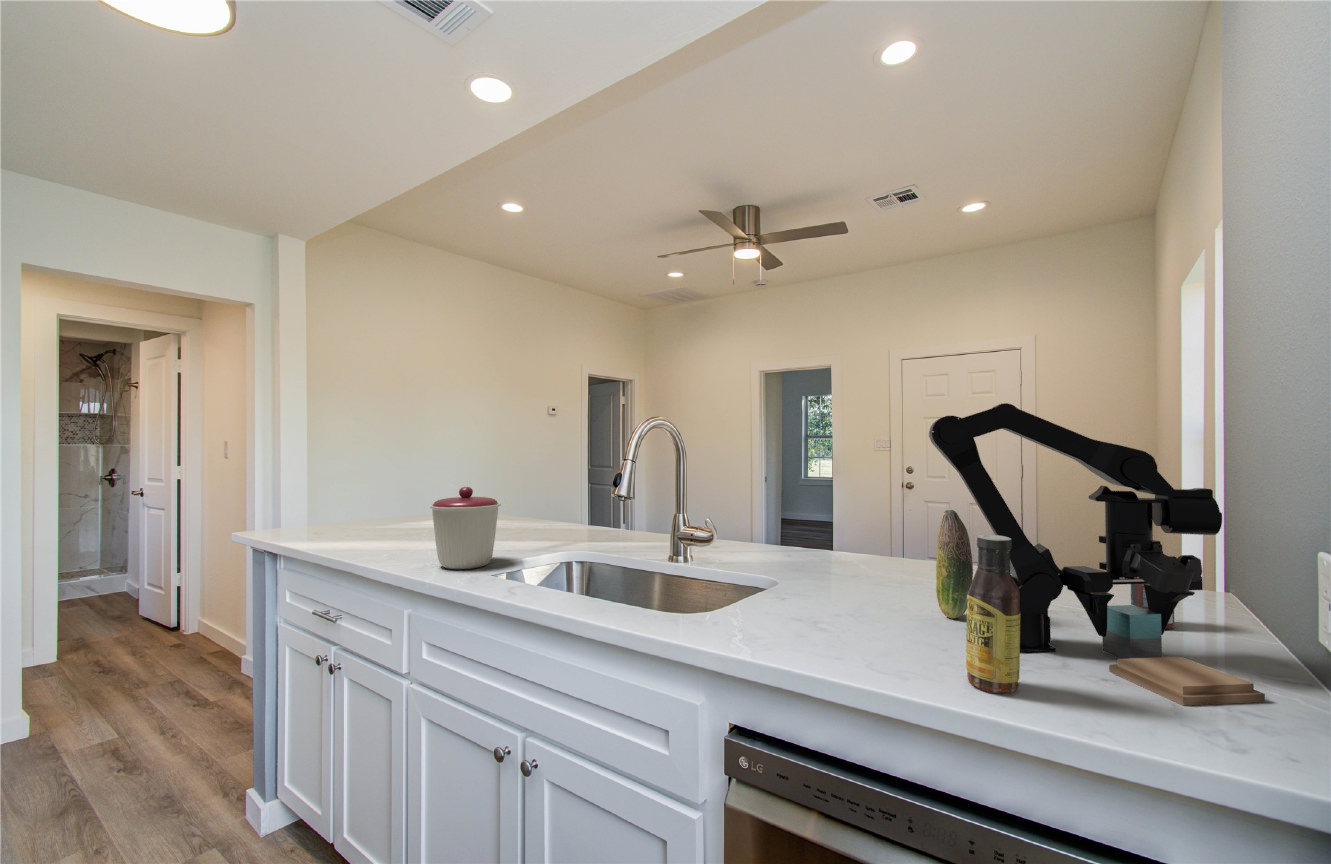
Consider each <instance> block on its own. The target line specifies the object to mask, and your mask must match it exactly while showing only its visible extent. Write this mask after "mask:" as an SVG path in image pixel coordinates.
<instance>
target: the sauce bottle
mask: <svg viewBox="0 0 1331 864" xmlns="http://www.w3.org/2000/svg"><path fill="white" fill-rule="evenodd" d="M976 547H977V552H978V553H977V554H978V555H977V569H976V571H975V573H974V574H973V575H974V576H973V579H972V583H971V586H970V588H969V591H968V594H967V610H966V635H965V636H966V643H965V644H966V646H965V647H966V649H965V651H966V653H965V654H966V655H965V660H966V661H965V668H966V671H967V673H966V677H967V681H968V683H969V684H970V685H972V686H973V687H974V688H978V689H980V690H982V691H985V692H987V693H992V694H1011V693H1012V694H1013V693H1015V692H1016V691H1018V690H1019V686H1020V684H1019V681H1020V661H1021V660H1020V659H1021V656H1020V655H1021V652H1020V611H1019V607H1020V604H1019V602H1020V593H1019V589H1018V587H1017V585H1016V583H1015V582H1014V580H1013V579H1012V576H1011V573H1010V569H1011V567H1010V550H1011V549H1012V539H1011V538H1009V537H1005V536H999V535H995V534H980V535H977V537H976Z"/></svg>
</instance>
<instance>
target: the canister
mask: <svg viewBox="0 0 1331 864" xmlns="http://www.w3.org/2000/svg"><path fill="white" fill-rule="evenodd" d="M473 493H474V490H473V488H472V487H469V486H464V487H463V486H462V487H461V488H460V489H459V491H458V495H459V497H458V496H456V497H447V498H441V499H437V500H436V501H435V502H433V503H432V504H430V505H429V508H430V509H431V510H432V520H433V521H432V523H433V530H434V540H435V546H436V555H437V560H438V562H439V564H440V565H441V566H442V567H443V568H446V569H449V570H471V569H478V568H482V567H484V566H487V565H488V564H490V562H491V561H492V558H493V554H494V547H495V539H496V531H497V524H498V523H497V522H498V515H499V507H500V506H501V504H502V503H501V502H499V501H498V500H496V499H494V498H493V497H487V496H486V497H485V496H473Z"/></svg>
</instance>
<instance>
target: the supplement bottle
mask: <svg viewBox="0 0 1331 864" xmlns="http://www.w3.org/2000/svg"><path fill="white" fill-rule="evenodd" d="M1135 578H1136V577H1135ZM1137 578H1139V577H1137ZM1130 605H1133V606H1136V607H1140V608H1143V609H1146V610H1149V609H1148V604H1147V599H1146V594H1145V589H1144V584H1130ZM1174 627H1175V610H1174V611H1173V613H1172V615H1171V617H1170V620H1169V622H1168V624H1167V626H1166V629H1165V630H1170V629H1172V628H1174Z"/></svg>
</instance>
